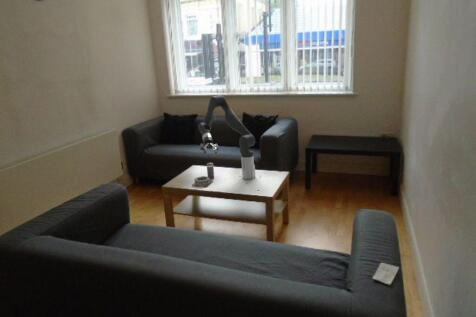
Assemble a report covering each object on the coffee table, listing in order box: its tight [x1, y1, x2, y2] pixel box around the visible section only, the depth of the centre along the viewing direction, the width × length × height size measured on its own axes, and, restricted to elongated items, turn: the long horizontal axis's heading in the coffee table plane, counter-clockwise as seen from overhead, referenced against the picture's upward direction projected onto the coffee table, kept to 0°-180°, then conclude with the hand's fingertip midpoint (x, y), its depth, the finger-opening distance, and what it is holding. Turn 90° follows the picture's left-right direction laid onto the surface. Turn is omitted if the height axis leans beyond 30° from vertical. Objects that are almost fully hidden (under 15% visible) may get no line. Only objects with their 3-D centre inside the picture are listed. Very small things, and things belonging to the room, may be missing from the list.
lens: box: [206, 162, 215, 180], centre depth 289 cm, size 5×5×12 cm
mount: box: [191, 175, 214, 188], centre depth 279 cm, size 12×12×4 cm
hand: (210, 152), depth 295 cm, fingers open, 8 cm apart
